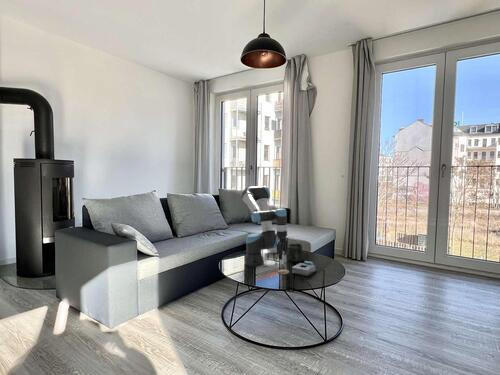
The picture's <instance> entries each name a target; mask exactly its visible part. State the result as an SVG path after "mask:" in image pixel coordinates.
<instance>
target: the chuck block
mask: <svg viewBox="0 0 500 375" xmlns="http://www.w3.org/2000/svg"><path fill="white" fill-rule="evenodd" d="M314 272H316V265H314V262H313V261H307V260H305V261H303V263H302V262H299V263H296V265H294V266H292V267H291V273H292V274H296V275H301V276H306V277H308V276H310V275H312V274H314Z"/></svg>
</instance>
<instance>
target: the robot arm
mask: <svg viewBox="0 0 500 375" xmlns="http://www.w3.org/2000/svg"><path fill="white" fill-rule="evenodd" d="M270 198H271V192H270V189H269V187H267V186H266V185H259V186H257V185H256V186H248V187H246V188H245V189H244V190H243V191H242V193H241V199H242V202H244V203H245V204H246V206H247V207H248V209H249V210H250V212H251V216H250V217H251V221H252V223H260V224H261V230H262V232H261V233H259V232H256V233H250V234H248V235H247V236H246V238H245V244H246V255H245V260H244V265H245V264H246V265H245V266H247V265H248V266H247V267H260V266H263V265H264V264H265V260H264V256H263V255H262V251H263V250H267V249H273V248H277V252H276V254H277V255H278V256H279V264H280V265H281V264H284V261H283V255H282V254H283V251H285V252H287V254H289V253H288V252H289V249H288V248H289V246H288V245H289V237H287V236H288V231H287V230H288V223H287V222H288V221H287V219H288V217H287V209H286V208H276V209H272V210H270V208H269V205H268V204H269V203H268V202H269V200H270ZM272 221H274V222H275V223H276V226H275V227H276V230H275V229H274V228H273V223H272ZM275 232H277V233H275ZM286 263H287V256H286V255H285V264H286Z"/></svg>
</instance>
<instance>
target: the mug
mask: <svg viewBox="0 0 500 375" xmlns="http://www.w3.org/2000/svg"><path fill="white" fill-rule="evenodd" d="M288 252H289V253H288V254H287V255H286V257H288V258H289V261H291V262H302V260H303V244H302V243H290V244H289V243H288Z"/></svg>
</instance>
